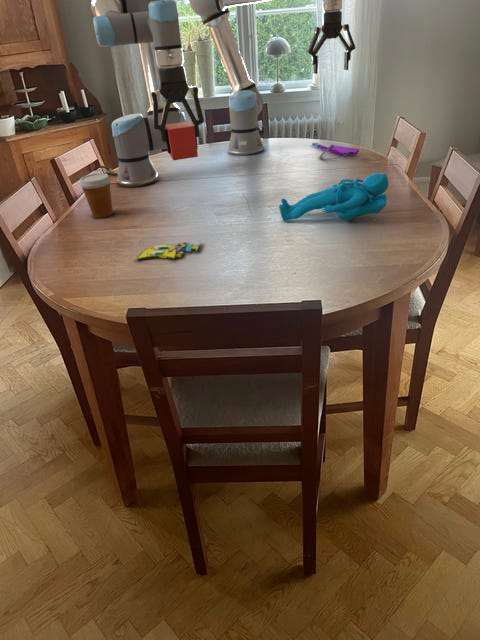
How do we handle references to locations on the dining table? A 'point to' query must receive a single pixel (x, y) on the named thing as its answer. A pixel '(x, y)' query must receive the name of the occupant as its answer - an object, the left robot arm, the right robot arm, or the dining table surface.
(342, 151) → the musical instrument
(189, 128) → the brick
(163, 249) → the toy
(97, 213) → the disposable coffee cup
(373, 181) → the toy
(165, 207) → the dining table surface
